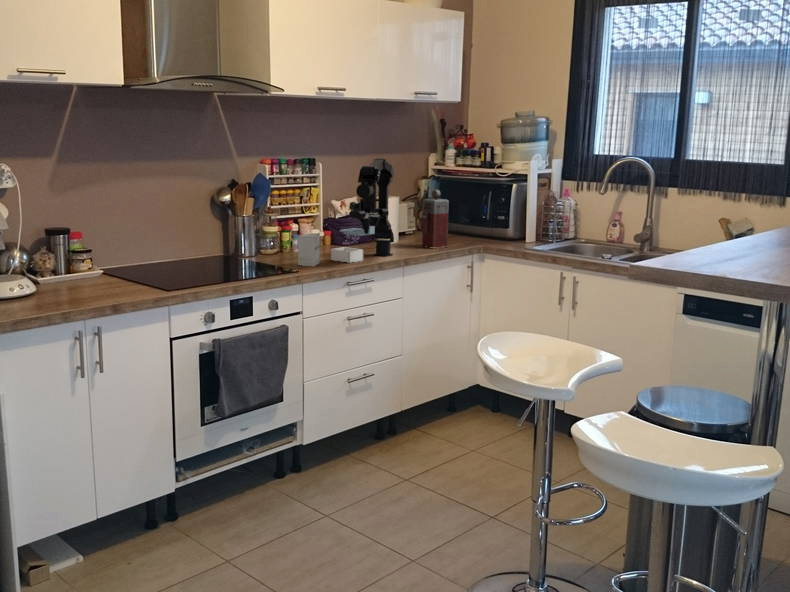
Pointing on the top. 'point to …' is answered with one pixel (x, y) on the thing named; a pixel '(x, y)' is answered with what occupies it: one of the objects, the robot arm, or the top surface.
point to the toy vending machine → (435, 221)
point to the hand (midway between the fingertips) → (369, 233)
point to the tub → (347, 254)
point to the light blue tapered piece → (358, 231)
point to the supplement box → (308, 249)
